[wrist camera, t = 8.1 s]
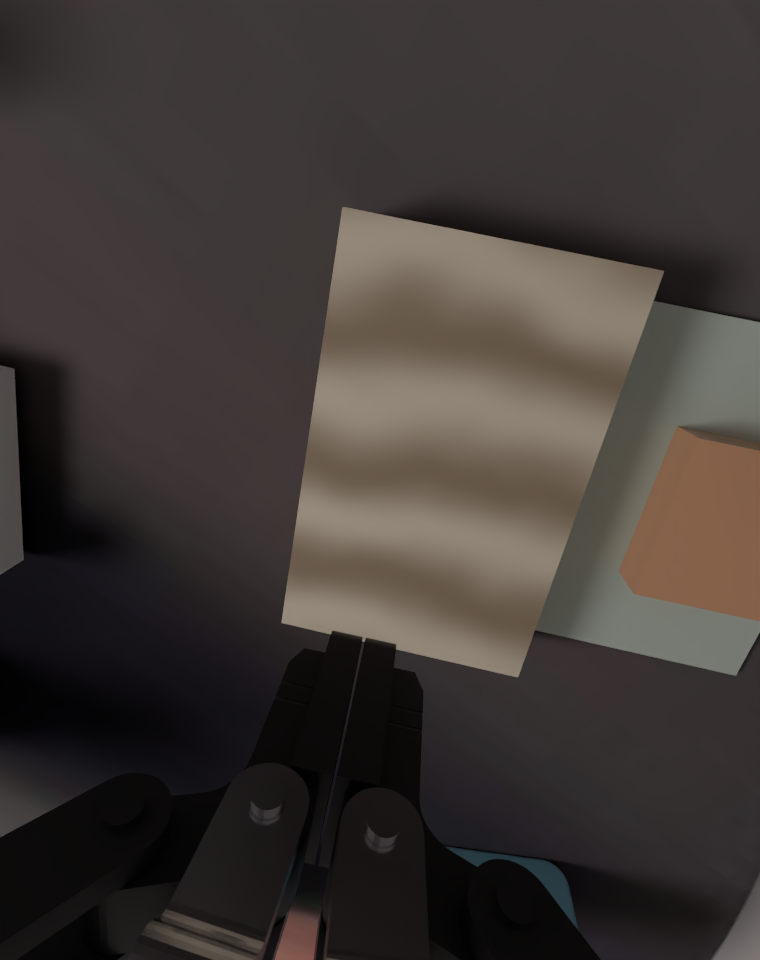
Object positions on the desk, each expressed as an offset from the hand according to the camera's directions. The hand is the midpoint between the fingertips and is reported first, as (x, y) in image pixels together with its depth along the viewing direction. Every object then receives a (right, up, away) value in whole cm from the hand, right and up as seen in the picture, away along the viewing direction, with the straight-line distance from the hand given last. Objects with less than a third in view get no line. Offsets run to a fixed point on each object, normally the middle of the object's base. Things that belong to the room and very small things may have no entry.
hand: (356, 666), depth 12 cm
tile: (+19, +2, +16) cm, 25 cm away
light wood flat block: (+4, +6, +18) cm, 19 cm away
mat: (+18, +3, +17) cm, 25 cm away
